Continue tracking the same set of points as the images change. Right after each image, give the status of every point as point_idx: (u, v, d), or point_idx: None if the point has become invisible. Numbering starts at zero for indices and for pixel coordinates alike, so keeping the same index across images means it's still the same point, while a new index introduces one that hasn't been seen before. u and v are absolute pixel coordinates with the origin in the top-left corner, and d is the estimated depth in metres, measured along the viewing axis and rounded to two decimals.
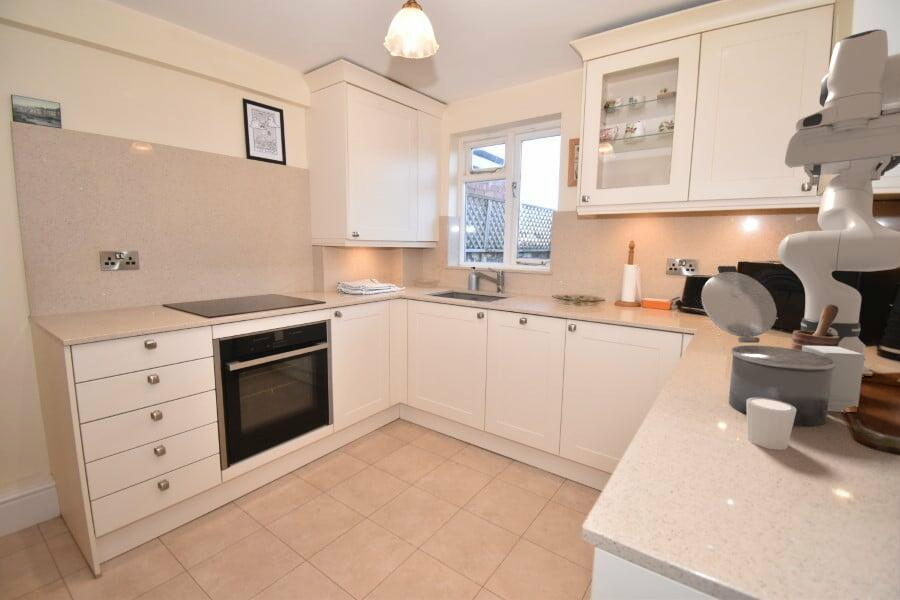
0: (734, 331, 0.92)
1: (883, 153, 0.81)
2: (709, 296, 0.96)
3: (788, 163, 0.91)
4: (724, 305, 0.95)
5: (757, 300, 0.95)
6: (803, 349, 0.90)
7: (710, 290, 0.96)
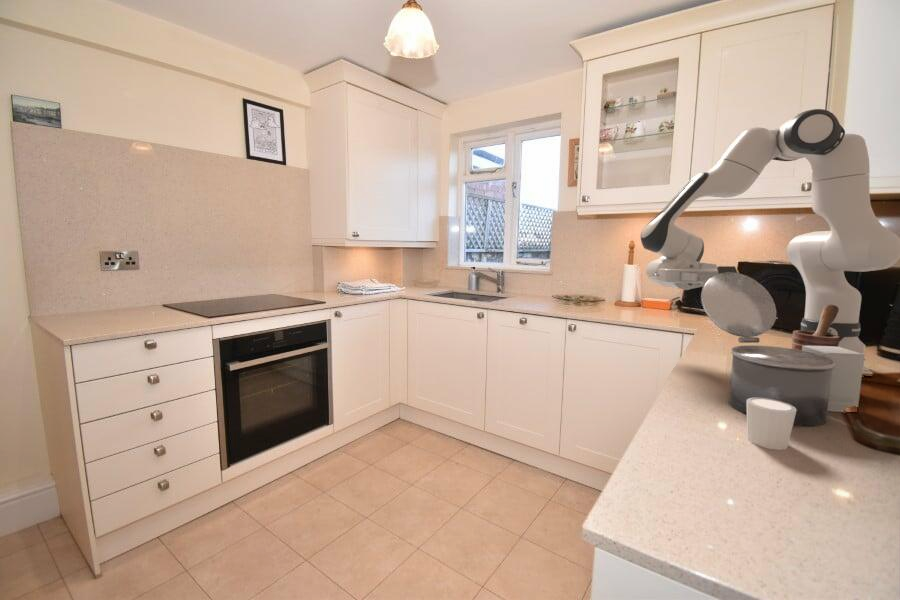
0: (734, 331, 0.92)
1: (683, 282, 1.09)
2: (709, 296, 0.96)
3: None
4: (724, 305, 0.95)
5: (757, 300, 0.95)
6: (803, 349, 0.90)
7: (710, 290, 0.97)
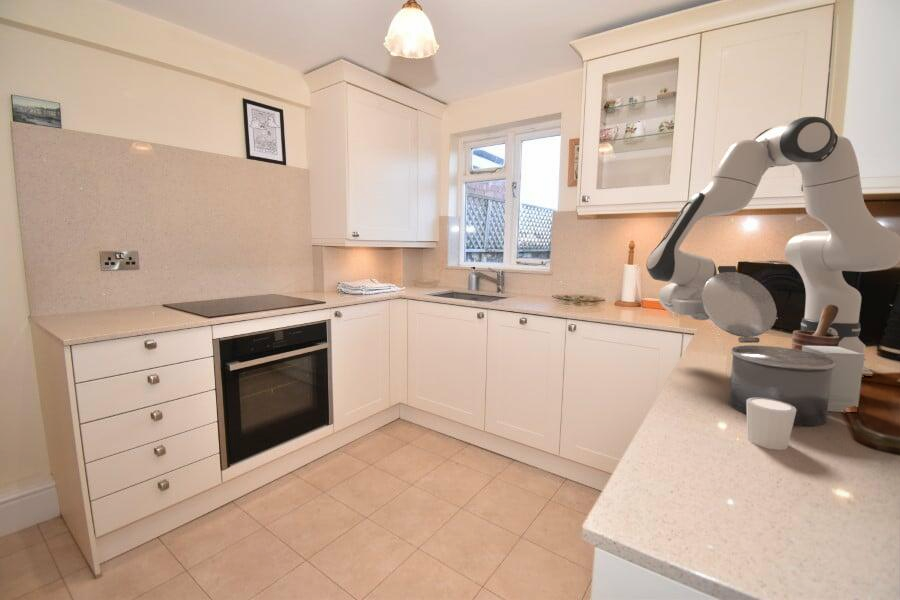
0: (734, 331, 0.92)
1: (698, 315, 1.02)
2: (709, 296, 0.96)
3: None
4: (724, 305, 0.95)
5: (757, 300, 0.95)
6: (803, 349, 0.90)
7: (710, 290, 0.96)
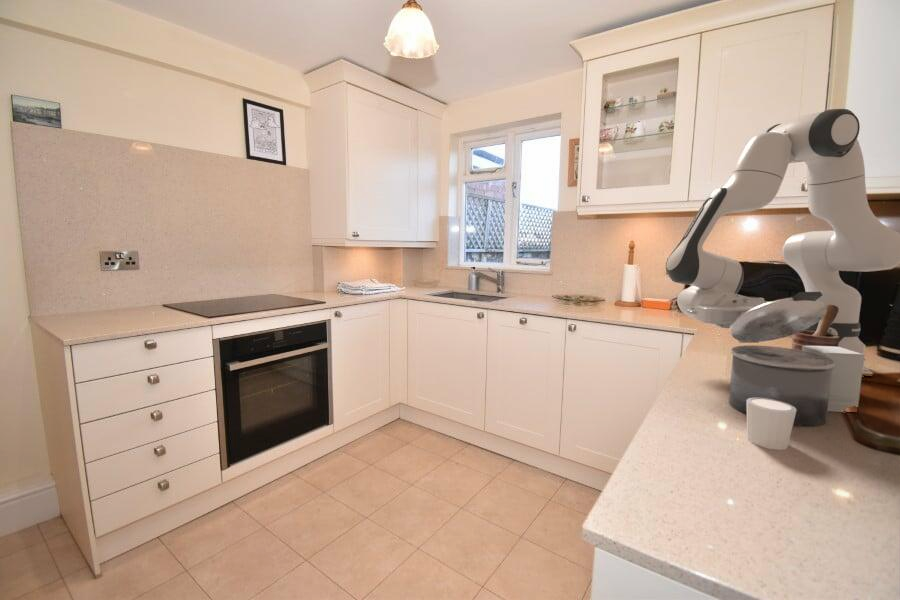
0: (740, 339, 0.90)
1: (726, 323, 0.92)
2: (749, 319, 0.83)
3: None
4: (756, 324, 0.85)
5: (799, 321, 0.84)
6: (803, 349, 0.90)
7: (757, 314, 0.82)
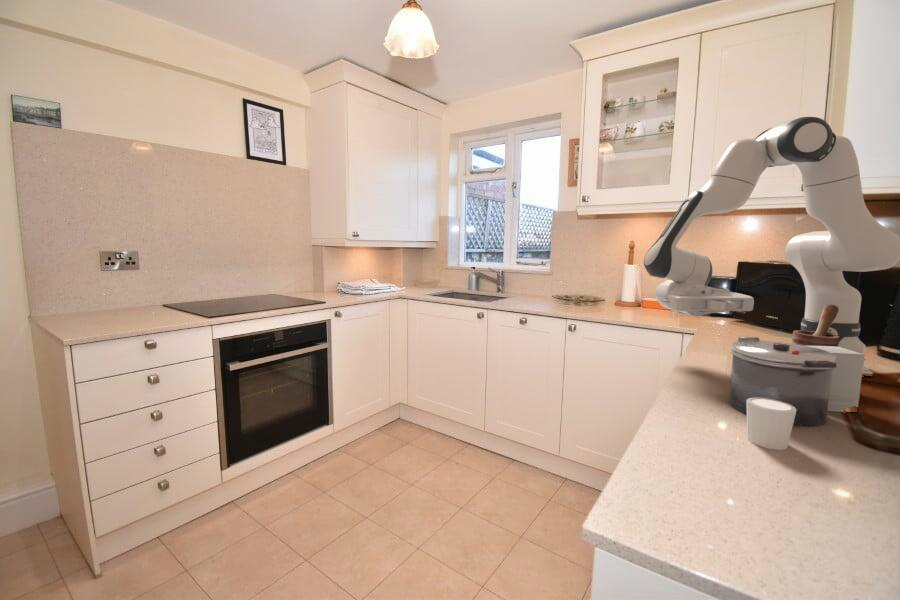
0: None
1: (695, 310, 1.04)
2: None
3: (750, 310, 1.04)
4: None
5: None
6: None
7: None
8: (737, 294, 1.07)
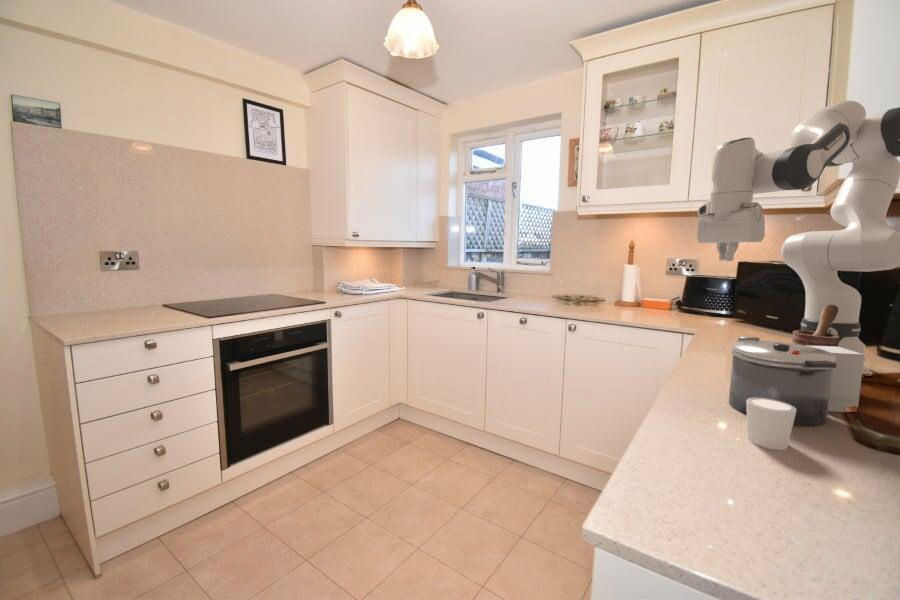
0: None
1: (735, 241, 0.97)
2: None
3: (698, 241, 1.12)
4: None
5: None
6: None
7: None
8: None
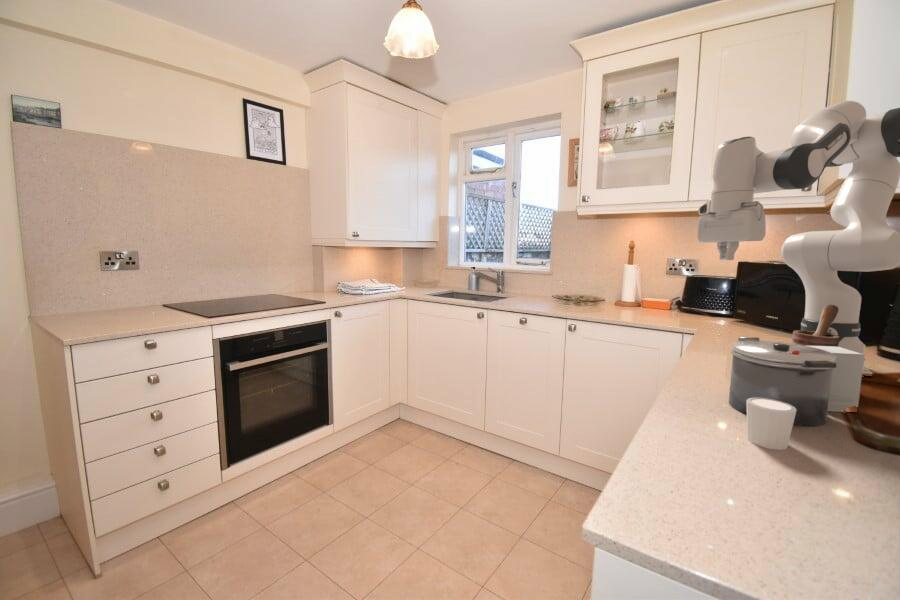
0: None
1: (736, 240, 0.97)
2: None
3: (698, 239, 1.11)
4: None
5: None
6: None
7: None
8: None
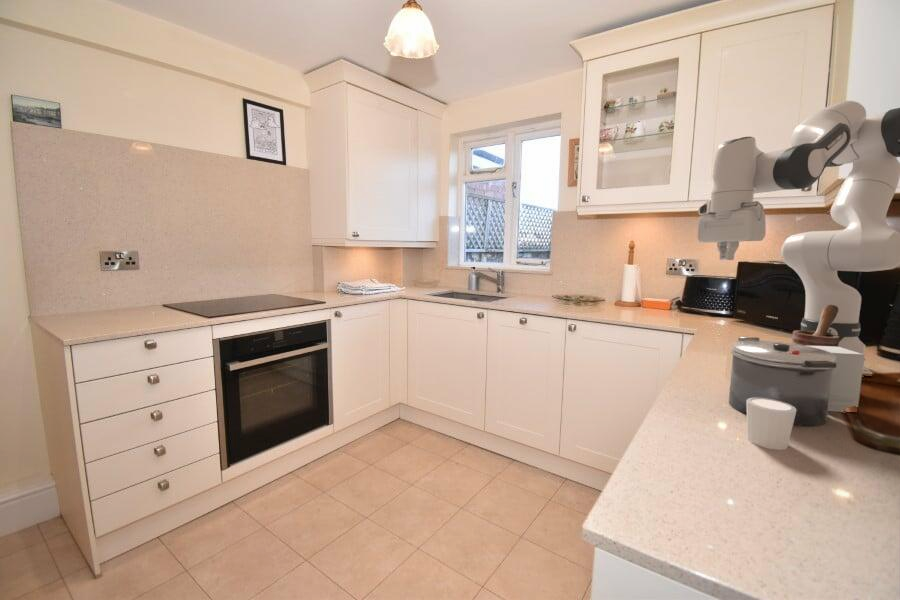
0: None
1: (736, 240, 0.97)
2: None
3: (698, 239, 1.11)
4: None
5: None
6: None
7: None
8: None
